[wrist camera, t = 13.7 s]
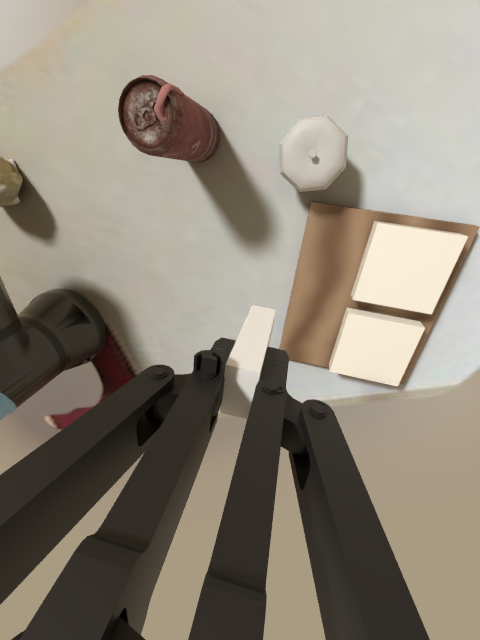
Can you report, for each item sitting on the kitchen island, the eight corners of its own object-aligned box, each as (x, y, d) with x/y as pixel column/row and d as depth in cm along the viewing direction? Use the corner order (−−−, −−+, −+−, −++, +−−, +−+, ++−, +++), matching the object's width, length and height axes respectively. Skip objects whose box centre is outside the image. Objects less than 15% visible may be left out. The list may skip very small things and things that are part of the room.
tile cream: (352, 299, 39) (431, 314, 38) (377, 222, 34) (468, 236, 33) (350, 293, 41) (424, 307, 40) (373, 220, 37) (458, 232, 35)
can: (231, 128, 37) (192, 103, 25) (203, 172, 40) (156, 169, 28) (193, 93, 36) (134, 49, 24) (168, 140, 39) (103, 123, 27)
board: (278, 352, 50) (277, 356, 48) (311, 201, 39) (311, 202, 37) (401, 378, 47) (404, 384, 46) (473, 225, 36) (479, 226, 35)
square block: (329, 371, 45) (397, 386, 43) (348, 313, 40) (425, 327, 39) (328, 362, 47) (393, 376, 45) (346, 306, 42) (418, 319, 41)
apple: (357, 132, 34) (367, 123, 29) (328, 200, 38) (332, 204, 32) (294, 111, 35) (291, 97, 29) (271, 180, 39) (265, 181, 33)
